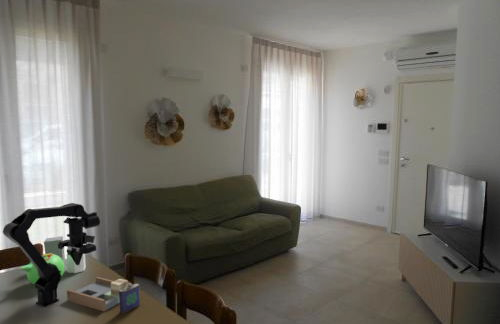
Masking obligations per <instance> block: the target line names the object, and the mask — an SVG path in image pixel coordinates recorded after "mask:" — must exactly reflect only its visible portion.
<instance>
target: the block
mask: <svg viewBox="0 0 500 324" xmlns="http://www.w3.org/2000/svg"><path fill="white" fill-rule="evenodd" d="M112 281H113V282H111V294H113V295H116V296H119V291H120V290H121V289H122V288H123V289H125V288H127V286H128V285H129V284H128V283H129V281H128V280H127V279H123V278H118V279H116V280H112Z"/></svg>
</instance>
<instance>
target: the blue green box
mask: <svg viewBox="0 0 500 324" xmlns="http://www.w3.org/2000/svg"><path fill="white" fill-rule="evenodd" d="M140 295H141V294H140V284H139V283H134V284H133V283H131V282H128V286H127V288H125V289H123V288H122V289H121V290H120V291H119V300H120V303H119V309H120V311H119V312H120V314H125V313H128V312H131V311H133V310H134V309H137V308H138V307H139V306H141V299H140V298H141V297H140Z"/></svg>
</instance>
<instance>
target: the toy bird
mask: <svg viewBox="0 0 500 324" xmlns="http://www.w3.org/2000/svg"><path fill="white" fill-rule="evenodd" d="M41 256H42V257H43V258H44V259H45V261H46V262H47V263H51V264H54V265H56V266H57V268H58V270H59V271H61V273H60V274H61V278H62V276H63V275H64V273H65V265H64V262H63V260H62V259H61V258H60V257H59V256H57V255H55V254H52V253H49V254H45V253H43V254H41ZM19 269H20V270H21V271H24V272H26V276H27V280H28V281H29V282H30V283H31V284H33V285H34V286H35V283H36V281H37V280H38V279H39V275H38V271H37V268H36V267H35V266H34V265H33V263H32V262H31V261H30V262H29V263H28V264H25V265H23V266H21V267H20V268H19Z"/></svg>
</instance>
